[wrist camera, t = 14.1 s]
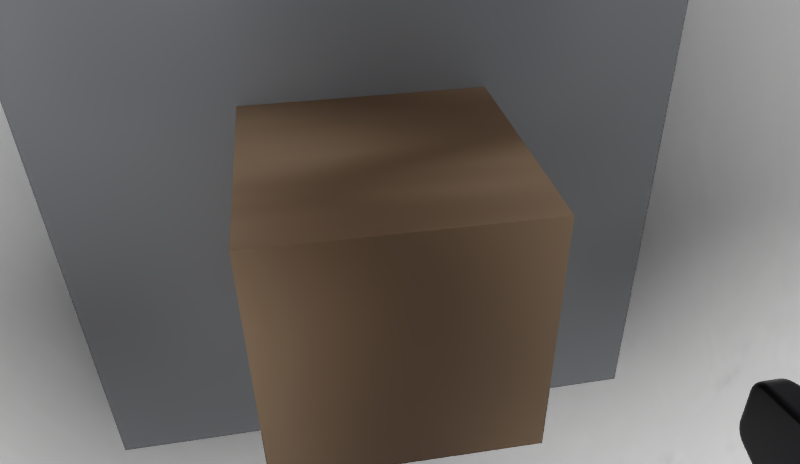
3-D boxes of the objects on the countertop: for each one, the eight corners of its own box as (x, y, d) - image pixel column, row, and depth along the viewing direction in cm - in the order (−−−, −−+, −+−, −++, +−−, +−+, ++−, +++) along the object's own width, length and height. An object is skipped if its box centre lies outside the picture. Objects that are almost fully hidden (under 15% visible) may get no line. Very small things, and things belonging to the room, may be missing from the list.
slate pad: (688, -163, 12) (718, -158, 12) (598, 351, 19) (614, 378, 18) (-53, -127, 11) (-78, -117, 10) (131, 417, 18) (125, 450, 17)
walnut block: (484, 86, 13) (574, 214, 10) (474, 280, 16) (541, 443, 12) (236, 106, 13) (229, 251, 9) (265, 305, 15) (269, 483, 11)
